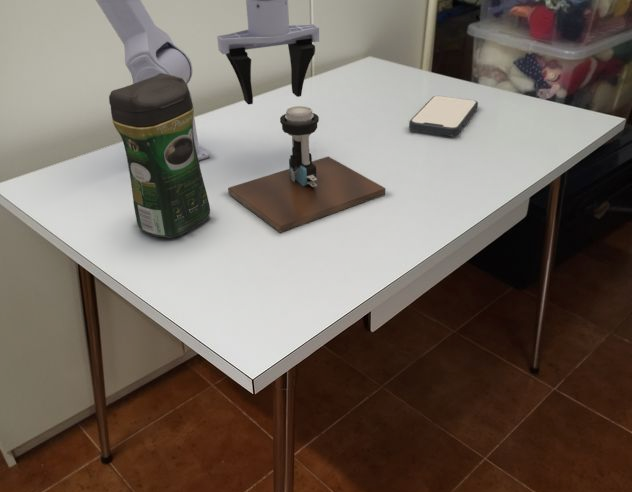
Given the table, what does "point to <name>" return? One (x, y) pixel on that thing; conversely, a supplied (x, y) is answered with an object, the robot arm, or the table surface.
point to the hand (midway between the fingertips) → (273, 98)
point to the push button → (300, 143)
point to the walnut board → (305, 194)
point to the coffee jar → (161, 154)
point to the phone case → (443, 115)
